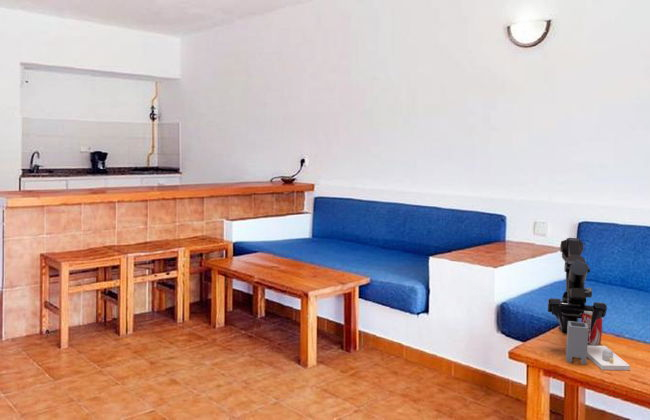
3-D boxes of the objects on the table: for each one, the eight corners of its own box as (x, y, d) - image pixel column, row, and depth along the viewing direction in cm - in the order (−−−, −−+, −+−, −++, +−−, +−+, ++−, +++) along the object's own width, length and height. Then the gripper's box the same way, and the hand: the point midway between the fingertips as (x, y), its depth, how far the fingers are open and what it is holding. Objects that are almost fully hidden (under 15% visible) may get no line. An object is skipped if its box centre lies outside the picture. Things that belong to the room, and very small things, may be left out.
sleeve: (565, 355, 199) (567, 320, 198) (584, 357, 198) (586, 322, 196) (566, 361, 194) (569, 326, 192) (586, 364, 192) (588, 328, 190)
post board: (579, 349, 205) (580, 335, 205) (604, 349, 205) (605, 335, 204) (601, 369, 187) (602, 354, 187) (629, 370, 187) (630, 355, 187)
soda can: (603, 348, 207) (605, 315, 205) (582, 346, 208) (584, 314, 207) (597, 341, 214) (600, 310, 212) (577, 339, 215) (579, 308, 213)
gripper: (549, 276, 203) (549, 315, 194) (607, 280, 197) (610, 321, 188) (547, 292, 212) (547, 330, 203) (603, 297, 206) (605, 336, 197)
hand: (576, 329), depth 197 cm, fingers open, 9 cm apart
